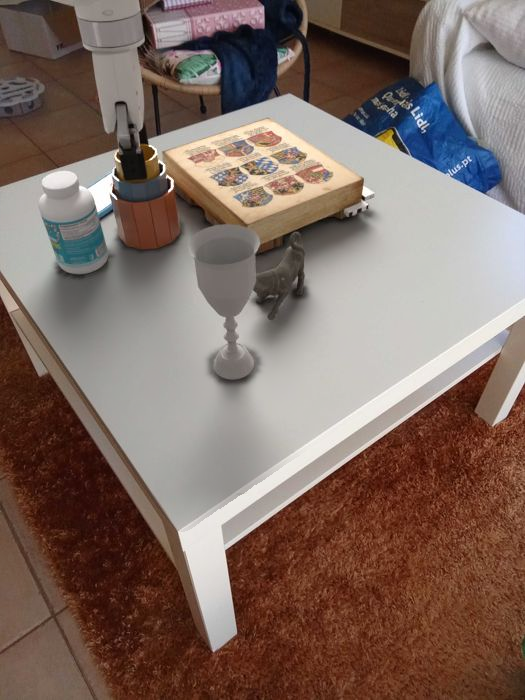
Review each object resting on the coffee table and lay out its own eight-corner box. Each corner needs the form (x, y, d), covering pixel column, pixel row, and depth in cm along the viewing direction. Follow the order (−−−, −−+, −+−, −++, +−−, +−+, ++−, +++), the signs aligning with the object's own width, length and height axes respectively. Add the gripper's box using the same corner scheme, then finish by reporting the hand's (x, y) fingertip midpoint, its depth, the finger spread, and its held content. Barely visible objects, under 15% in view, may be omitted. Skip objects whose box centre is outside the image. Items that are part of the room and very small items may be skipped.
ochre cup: (129, 238, 86) (112, 165, 78) (130, 216, 90) (115, 145, 82) (168, 235, 87) (156, 162, 78) (168, 213, 91) (157, 142, 82)
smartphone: (55, 208, 93) (117, 167, 101) (57, 214, 94) (119, 173, 102) (87, 221, 90) (149, 178, 98) (89, 227, 91) (150, 184, 99)
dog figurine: (280, 266, 83) (280, 222, 77) (315, 278, 81) (318, 234, 75) (237, 314, 76) (234, 270, 70) (274, 329, 74) (274, 285, 68)
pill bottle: (57, 251, 86) (29, 170, 76) (106, 242, 88) (85, 161, 78) (60, 281, 81) (31, 198, 71) (112, 271, 83) (90, 188, 73)
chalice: (210, 391, 67) (194, 270, 54) (199, 350, 71) (182, 231, 58) (269, 377, 68) (268, 257, 55) (255, 339, 72) (250, 219, 59)
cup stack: (118, 251, 86) (103, 189, 78) (122, 217, 92) (108, 156, 85) (180, 246, 86) (171, 184, 79) (179, 212, 93) (171, 152, 85)
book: (380, 213, 92) (281, 146, 108) (386, 178, 88) (281, 113, 104) (255, 268, 83) (167, 185, 99) (254, 232, 78) (161, 151, 94)
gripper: (87, 9, 74) (115, 138, 87) (71, 56, 62) (106, 198, 75) (145, 6, 75) (164, 134, 87) (140, 53, 63) (163, 194, 75)
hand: (137, 163), depth 81 cm, fingers open, 7 cm apart
